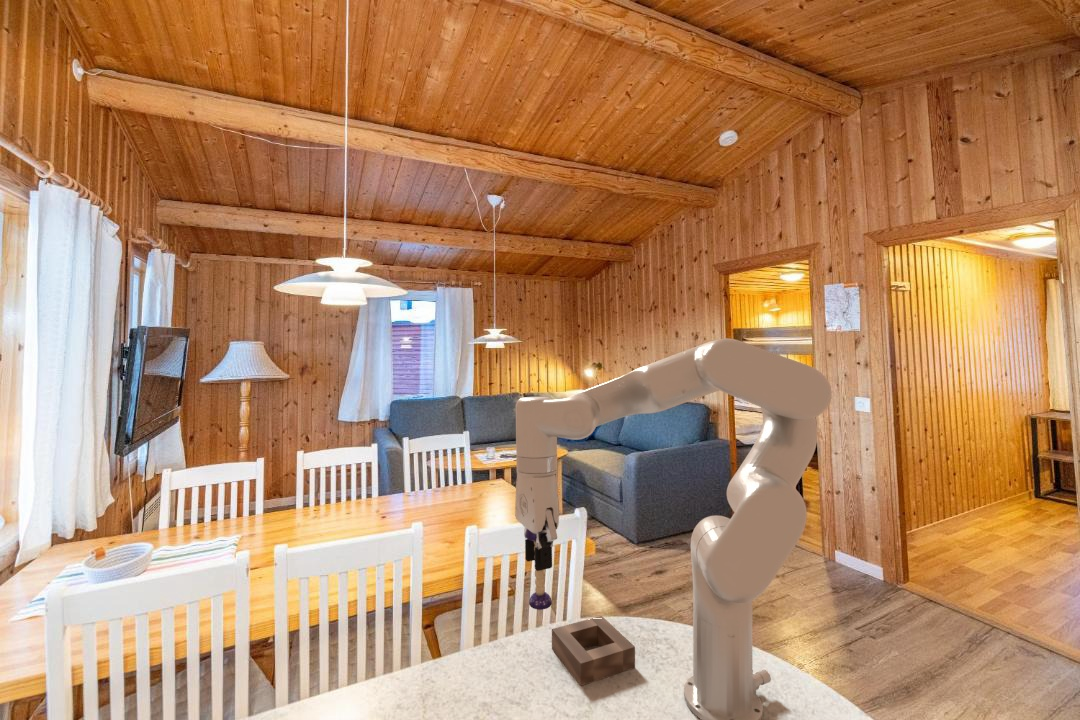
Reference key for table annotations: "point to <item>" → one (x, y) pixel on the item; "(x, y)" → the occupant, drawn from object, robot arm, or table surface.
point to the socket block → (597, 662)
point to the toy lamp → (538, 582)
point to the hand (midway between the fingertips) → (538, 563)
